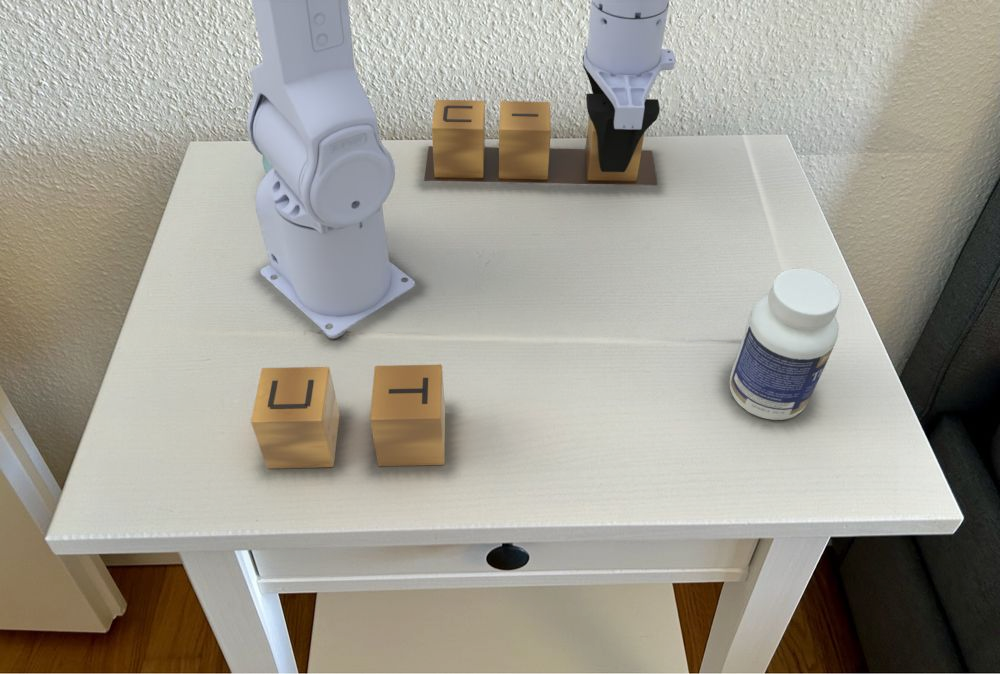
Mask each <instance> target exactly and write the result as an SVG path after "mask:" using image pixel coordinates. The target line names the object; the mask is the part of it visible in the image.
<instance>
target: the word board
mask: <svg viewBox="0 0 1000 674" xmlns="http://www.w3.org/2000/svg"><path fill="white" fill-rule="evenodd" d="M585 150H586V148H550V151H549V167H548V179H547V180H541V179H499V146H498V147H495V146H494V147H493V146H491V147H489V146H485V161H484V178H442V177H435V174H434V158H433V145H428V148H427V154H426V162H425V170H424V177H423V181H424V182H462V183H463V182H465V183H466V182H467V183H469V182H470V183H516V184H561V185H562V184H565V185H567V184H568V185H610V186H611V185H612V186H613V185H614V186H615V185H616V186H658V177H657V172H656V167H655V160H654V156H653V150H647V149H646V150H644V149H642V151H641V157H640V163H639V169H638V175H637V181H602V180H588V178H587V165H586V152H585Z"/></svg>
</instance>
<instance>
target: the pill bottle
mask: <svg viewBox="0 0 1000 674" xmlns="http://www.w3.org/2000/svg"><path fill="white" fill-rule="evenodd" d="M841 298H842V297H841V292H840V289H839V287H838V286H837V285H836V284H835V282H834V281H832V279H830V278H829V277H828V276H826V275H825V274H823V273H821V272H819V271H816V270H813V269H809V268H802V267H801V268H798V267H797V268H790V269H786V270H784V271H782V272H780V273H779V274H778V275H776V277H775V279H774V280H773V283H772V285H771V287H770V289H769V291H768V293H766V294H765V295H763V296H761V297H760V298H759V299H758V300H757V301H756V302H755V304H754V306H753V307H752V309H751V311H750V314H749V317H748V320H747V324H746V326H745V330H744V332H743V336H742V339H741V342H740V345H739V348H738V350H737V353H736V357H735V359H734V363H733V365H732V367H731V368H732V369H731V372H730V377H729V389H730V392H731V395H732V397H733V399H734V400H735V402H736V403H737V404H738V405H739V406H740V407H741V408H743V409H744V410H745V411H746V412H748V413H750V414H752V415H753V416H756V417H759V418H762V419H767V420H772V421H778V420H779V421H780V420H781V421H783V420H788V419H792V418H794V417H796V416H797V415H799V414H800V413H801V412H803V410H805V409H806V406H807V405H808V404H809V401H810V399H811V397H812V395H813V393H814V391H815V389H816V386H817V384H818V382H819V380H820V379H821V375H822V374H823V372H824V369H825V367H826V365H827V363H828V361H829V359H830V355H831V354H832V352H833V350H834V348H835V345H836V343H837V340H838V337H839V332H840V331H839V330H840V329H839V327H840V326H839V322H838V319H837V317H836V314H837V312H838V310H839V306H840V303H841Z"/></svg>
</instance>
